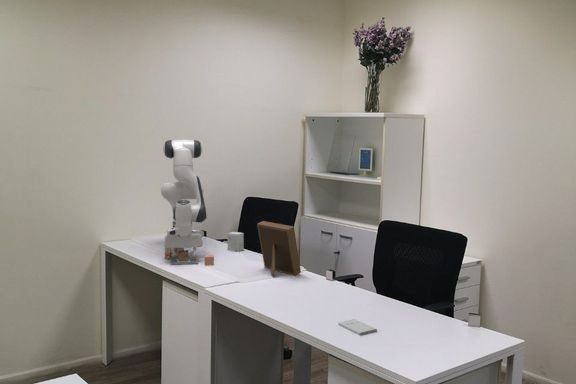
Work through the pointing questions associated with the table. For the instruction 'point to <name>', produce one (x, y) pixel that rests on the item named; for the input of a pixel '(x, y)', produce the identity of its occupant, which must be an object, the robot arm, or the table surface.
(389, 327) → the table surface
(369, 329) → the external hard drive
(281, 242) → the photo frame
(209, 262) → the terracotta block
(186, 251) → the walnut block
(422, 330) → the table surface
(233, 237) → the small box
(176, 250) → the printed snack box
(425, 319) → the table surface
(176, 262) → the grey flat square plate
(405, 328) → the table surface
